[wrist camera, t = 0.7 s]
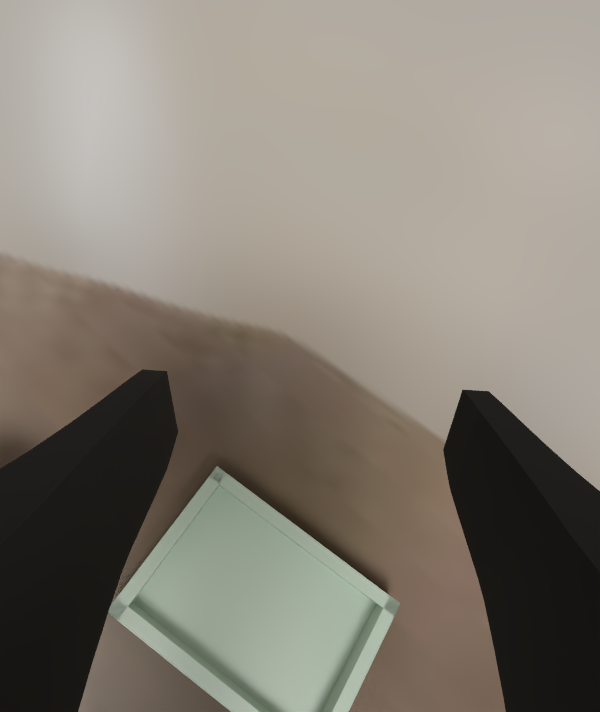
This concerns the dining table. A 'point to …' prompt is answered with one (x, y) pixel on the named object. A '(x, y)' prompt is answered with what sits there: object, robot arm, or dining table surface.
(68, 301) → the dining table surface
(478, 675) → the dining table surface
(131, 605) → the tray
